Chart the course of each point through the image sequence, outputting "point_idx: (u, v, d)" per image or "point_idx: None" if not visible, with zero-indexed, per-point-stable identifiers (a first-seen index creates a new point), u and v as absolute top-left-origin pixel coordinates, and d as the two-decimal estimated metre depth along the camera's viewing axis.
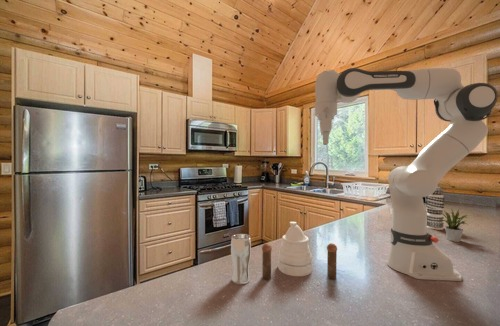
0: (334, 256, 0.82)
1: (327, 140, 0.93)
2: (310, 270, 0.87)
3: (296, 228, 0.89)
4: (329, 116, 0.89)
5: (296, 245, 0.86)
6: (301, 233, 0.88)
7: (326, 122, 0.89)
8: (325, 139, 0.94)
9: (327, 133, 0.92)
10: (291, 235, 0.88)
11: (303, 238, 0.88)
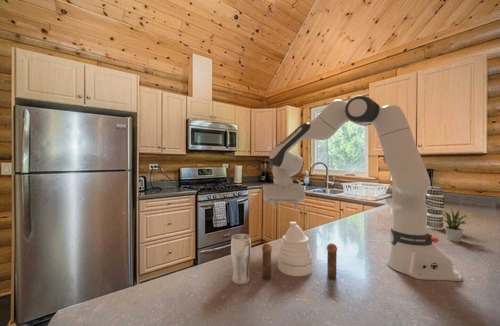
0: (334, 256, 0.82)
1: (274, 205, 1.10)
2: (310, 270, 0.87)
3: (296, 228, 0.89)
4: (264, 189, 1.15)
5: (296, 245, 0.86)
6: (301, 233, 0.88)
7: (263, 194, 1.14)
8: (273, 205, 1.11)
9: (271, 200, 1.12)
10: (291, 235, 0.88)
11: (303, 238, 0.88)
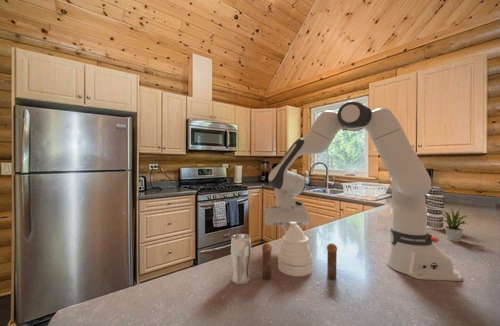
0: (334, 256, 0.82)
1: (285, 230, 1.04)
2: (310, 270, 0.87)
3: (296, 228, 0.89)
4: (265, 212, 1.10)
5: (296, 245, 0.86)
6: (301, 233, 0.88)
7: None
8: None
9: (282, 224, 1.06)
10: (291, 235, 0.88)
11: (303, 238, 0.88)
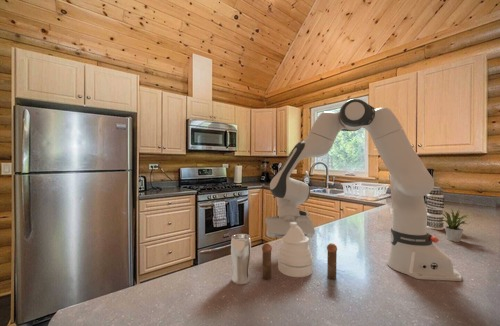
0: (334, 256, 0.82)
1: None
2: (310, 271, 0.86)
3: (296, 228, 0.88)
4: (267, 223, 1.02)
5: (296, 246, 0.85)
6: (301, 234, 0.88)
7: None
8: None
9: None
10: (291, 236, 0.87)
11: (303, 239, 0.87)
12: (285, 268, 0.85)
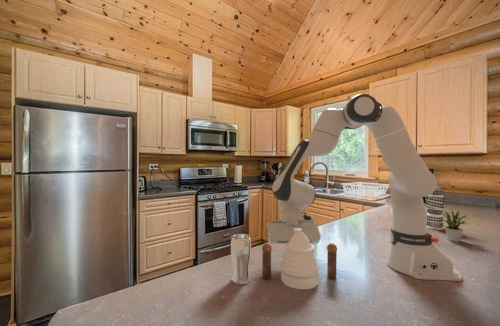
0: (334, 256, 0.82)
1: None
2: (316, 282, 0.78)
3: (301, 235, 0.80)
4: (269, 228, 0.94)
5: (301, 254, 0.77)
6: (306, 241, 0.80)
7: (268, 235, 0.93)
8: None
9: None
10: (296, 243, 0.79)
11: (309, 246, 0.79)
12: (289, 279, 0.77)
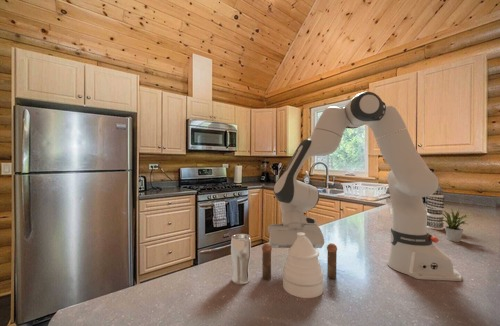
0: (334, 256, 0.82)
1: None
2: (321, 290, 0.73)
3: (304, 240, 0.76)
4: (270, 232, 0.89)
5: (304, 261, 0.73)
6: (310, 246, 0.75)
7: (269, 239, 0.89)
8: None
9: None
10: (299, 249, 0.74)
11: (313, 252, 0.75)
12: (291, 287, 0.73)
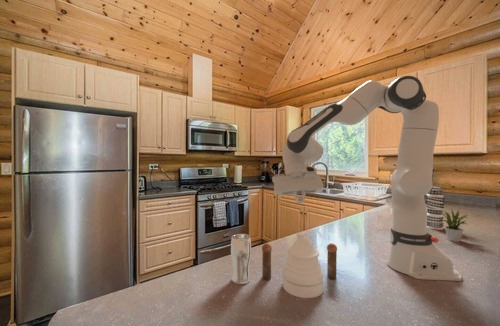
0: (334, 256, 0.82)
1: (296, 199, 0.95)
2: (321, 290, 0.73)
3: (304, 240, 0.76)
4: (274, 181, 1.00)
5: (304, 261, 0.73)
6: (310, 246, 0.75)
7: None
8: (296, 199, 0.96)
9: (293, 193, 0.97)
10: (299, 249, 0.74)
11: (313, 252, 0.75)
12: (291, 287, 0.73)
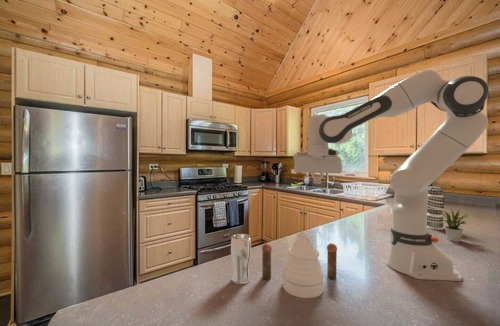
0: (334, 256, 0.82)
1: None
2: (321, 290, 0.73)
3: (304, 240, 0.75)
4: (295, 160, 1.05)
5: (304, 261, 0.73)
6: (310, 246, 0.75)
7: None
8: None
9: (311, 174, 1.04)
10: (299, 249, 0.74)
11: (313, 252, 0.75)
12: (291, 287, 0.73)
